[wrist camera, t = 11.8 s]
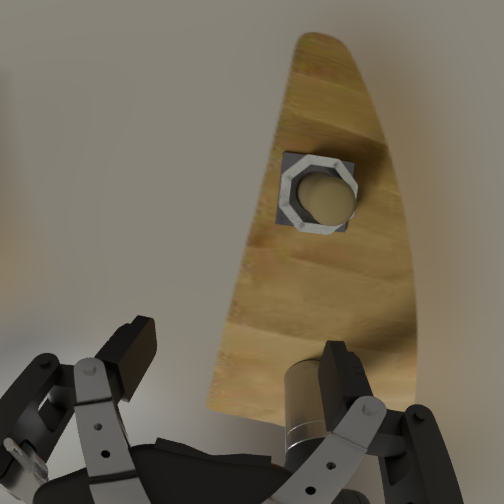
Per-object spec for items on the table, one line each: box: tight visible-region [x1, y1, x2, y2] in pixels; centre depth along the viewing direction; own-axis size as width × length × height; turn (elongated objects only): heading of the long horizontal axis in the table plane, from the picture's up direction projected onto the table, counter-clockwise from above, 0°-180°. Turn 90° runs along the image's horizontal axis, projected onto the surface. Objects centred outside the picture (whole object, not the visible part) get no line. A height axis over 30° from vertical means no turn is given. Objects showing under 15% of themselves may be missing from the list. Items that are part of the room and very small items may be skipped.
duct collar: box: [276, 152, 358, 235], centre depth 35 cm, size 10×10×4 cm
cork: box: [296, 171, 356, 226], centre depth 31 cm, size 6×6×11 cm
